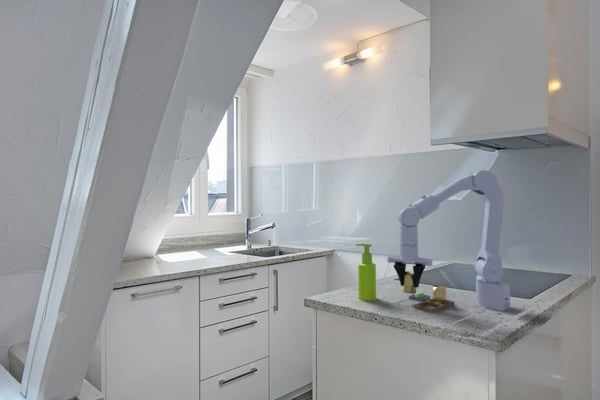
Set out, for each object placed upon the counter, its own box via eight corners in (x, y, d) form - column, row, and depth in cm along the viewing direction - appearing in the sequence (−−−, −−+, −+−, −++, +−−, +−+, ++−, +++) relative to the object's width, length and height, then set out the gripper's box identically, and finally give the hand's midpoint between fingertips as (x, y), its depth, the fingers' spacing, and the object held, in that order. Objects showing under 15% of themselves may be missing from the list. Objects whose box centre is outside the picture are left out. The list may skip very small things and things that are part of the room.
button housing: (430, 302, 133) (430, 295, 133) (422, 305, 130) (422, 298, 130) (417, 299, 137) (417, 293, 137) (409, 302, 134) (408, 295, 134)
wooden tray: (456, 308, 125) (456, 301, 125) (435, 317, 117) (435, 309, 117) (433, 304, 131) (433, 297, 131) (412, 311, 123) (412, 304, 123)
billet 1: (418, 292, 128) (418, 272, 128) (410, 294, 126) (410, 273, 126) (408, 290, 131) (408, 270, 131) (400, 291, 129) (400, 271, 129)
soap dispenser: (363, 298, 140) (362, 242, 140) (379, 301, 135) (378, 243, 135) (352, 301, 135) (352, 243, 135) (369, 305, 131) (368, 245, 130)
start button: (425, 301, 133) (425, 293, 133) (421, 303, 131) (420, 294, 131) (418, 299, 136) (418, 291, 136) (413, 301, 134) (413, 293, 134)
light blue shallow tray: (425, 306, 129) (425, 302, 129) (411, 311, 123) (411, 307, 123) (407, 302, 134) (407, 298, 134) (394, 306, 128) (394, 302, 128)
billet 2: (448, 306, 126) (448, 285, 126) (442, 308, 123) (442, 287, 123) (437, 303, 129) (436, 283, 129) (430, 305, 126) (430, 285, 126)
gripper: (435, 244, 127) (435, 286, 127) (393, 242, 136) (393, 281, 136) (427, 247, 122) (428, 290, 122) (384, 244, 130) (385, 285, 130)
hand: (409, 286), depth 128 cm, fingers closed on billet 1, 4 cm apart
